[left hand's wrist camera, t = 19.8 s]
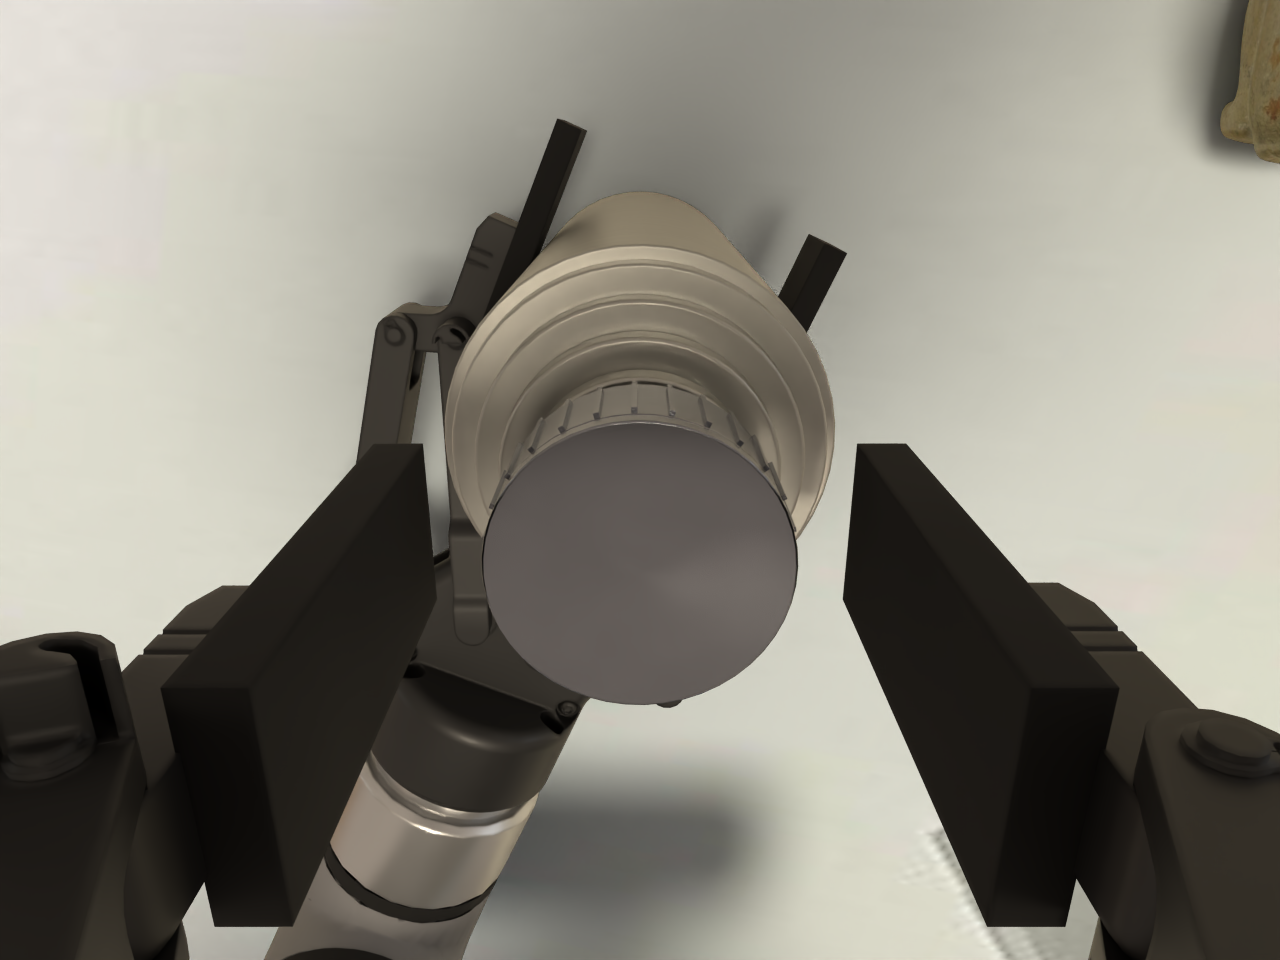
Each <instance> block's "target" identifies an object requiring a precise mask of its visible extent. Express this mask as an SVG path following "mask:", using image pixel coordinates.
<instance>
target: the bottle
mask: <svg viewBox="0 0 1280 960" xmlns="http://www.w3.org/2000/svg"><path fill="white" fill-rule="evenodd" d="M636 381H637V382H638V384H641V385H658V386H664V387H667V384H670V385H673V388H675V389H678V390H682V391H685V392H689V393H692V394H694V395H696V396H699V397H700V395H701V394H702V395H704V396H706V400H708V401H710V402H711V403H713V404H714V405H716V406H718V407H719V408H721V409H723V410H724V411H726V412H727V413H729V412H730V411H731V412H732V413H734V414H735V417H736V420H737V421H738V422H739V423H740V424H741V425H742V426H743V427H744V428H745V429H746V430H747V431H748V432H749V433H750V435H751V436H753V435H754V434H755V435H756V436H757V438H758V440H759V443H760V445H761V448H762V450H763V453H764V455H765V457H766V459H767V461H768V463H770V462H773V465H774V467H775V470H776V472H777V474H778V477H779V479H780V482H781V484H782V487H783V489H784V491H785V494H786V496H787V500H785V501H786V504H787V506H788V509H789V511H790V514H791V516H792V519H793V521H794V524H795V526H796V531H797V532H795V537H796V540H797V538H798V537H799V536H800V535H801V533H802V532H803V530H804V528H805V527H806V525H807V524H808V522H809V521H810V519H811V517H812V516H813V514H814V512H815V510H816V508H817V505H818V503H819V501H820V499H821V497H822V495H823V492H824V489H825V486H826V482H827V479H828V476H829V473H830V469H831V463H832V457H833V451H834V437H835V418H834V409H833V400H832V395H831V391H830V387H829V383H828V379H827V375H826V372H825V370H824V367H823V365H822V362H821V360H820V357H819V355H818V353H817V350H816V349H815V347H814V345H813V343H812V342H811V340H810V338H809V337H808V335H807V333H806V331H805V330H804V328H803V327H802V326H801V324H800V323H799V322H798V320H797V319H796V318H795V317H794V315H793V314H792V313H791V312H790V310H789V309H788V308H787V307H786V305H785V304H784V303H783V302H782V301H781V300H780V299H779V298H778V296H777V295H776V294H775V293H774V292H773V291H772V290H771V288H770V287H769V286H768V285H767V284H766V283H765V282H764V280H763V279H762V278H761V277H760V276H759V275H758V274H757V272H756V271H755V270H754V269H753V268H752V267H751V266H750V264H749V263H748V262H747V261H746V260H745V259H744V258H743V256H742V255H741V254H740V253H739V252H738V251H737V250H736V248H735V247H734V246H733V245H732V244H731V243H730V242H729V241H728V239H727V238H726V237H725V236H724V235H723V234H722V233H721V231H720V230H719V229H718V228H717V227H716V226H715V225H714V224H713V223H712V222H711V221H710V220H709V219H708V218H707V217H706V216H705V215H704V214H702V213H701V212H700V211H698V210H697V209H696V208H694V207H693V206H691V205H689V204H687V203H685V202H683V201H681V200H679V199H676V198H673V197H671V196H668V195H663V194H659V193H653V192H626V193H621V194H616V195H612V196H609V197H606V198H603V199H601V200H599V201H597V202H595V203H593V204H591V205H589V206H587V207H586V208H584V209H583V210H581V211H580V212H578V213H577V214H576V215H575V216H574V217H573V218H572V219H571V220H569V221H568V222H567V223H566V224H565V226H564V227H563V228H562V229H561V230H560V231H559V232H558V234H557V235H556V236H555V237H554V238H553V239H552V240H551V242H550V243H549V244H548V245H547V246H546V247H545V248H544V250H543V251H542V252H541V253H540V254H539V255H538V256H537V258H536V259H535V260H534V261H533V262H532V263H531V264H530V266H529V267H528V268H527V269H526V270H525V271H524V272H523V274H522V275H521V276H520V277H519V278H518V279H517V280H516V281H515V283H514V284H513V285H512V286H511V287H510V288H509V289H508V291H507V292H506V293H505V294H504V295H503V296H502V297H501V299H500V300H499V301H498V302H497V303H496V304H495V306H494V307H493V308H492V309H491V310H490V311H489V313H488V314H487V315H486V316H485V317H484V319H483V320H482V321H481V322H480V323H479V325H478V326H477V328H476V330H475V331H474V333H473V334H472V336H471V338H470V339H469V341H468V342H467V344H466V346H465V348H464V350H463V352H462V355H461V357H460V359H459V361H458V364H457V366H456V368H455V372H454V375H453V378H452V382H451V385H450V389H449V392H448V399H447V406H446V413H445V445H446V452H447V460H448V466H449V469H450V473H451V477H452V480H453V484H454V488H455V490H456V492H457V495H458V497H459V499H460V502H461V504H462V506H463V509H464V511H465V512H466V514H467V516H468V518H469V519H470V521H471V523H472V524H473V526H474V528H475V529H476V531H477V532H478V533H479V535H480V536H481V537H482V536H483V534H484V531H485V529H486V526H487V523H488V520H489V517H490V515H491V512H492V509H489V505H490V503H491V500H492V498H493V495H494V493H495V491H496V488H497V486H498V483H499V481H500V478H501V476H502V474H503V471H504V470H507V468H508V465H509V463H510V460H511V458H512V456H513V453H514V451H515V448H516V446H517V444H518V443H519V442H521V443H523V442H524V441H525V439H526V438H527V437H528V436H529V434H530V433H531V432H532V431H533V429H534V428H535V427H536V424H537V421H538V420H539V419H540V418H541V417H542V418H543V419H545V418H546V417H547V416H549V415H550V414H551V413H553V412H554V411H556V410H557V409H559V408H560V407H561V406H563V405H564V403H565V400H567V399H569V398H570V399H571V401H572V400H574V399H576V398H578V397H580V396H583V395H586V394H589V393H591V392H594V391H597V387H600V386H603V389H605V388H610V387H614V386H623V385H632V382H636Z"/></svg>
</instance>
